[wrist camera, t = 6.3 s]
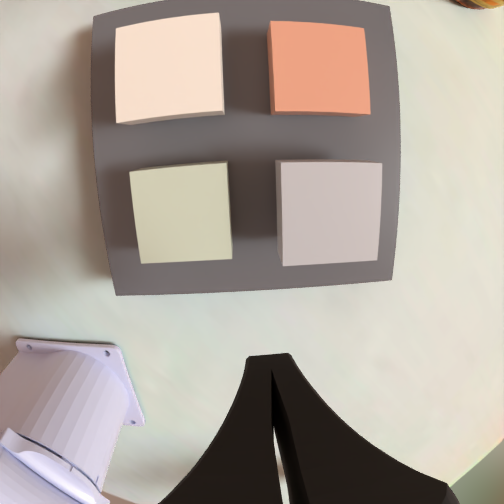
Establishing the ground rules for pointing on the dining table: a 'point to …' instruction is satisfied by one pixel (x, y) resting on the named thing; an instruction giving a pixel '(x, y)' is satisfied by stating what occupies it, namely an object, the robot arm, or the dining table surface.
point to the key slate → (328, 210)
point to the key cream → (169, 69)
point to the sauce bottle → (481, 3)
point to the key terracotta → (317, 69)
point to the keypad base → (244, 147)
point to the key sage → (182, 212)
